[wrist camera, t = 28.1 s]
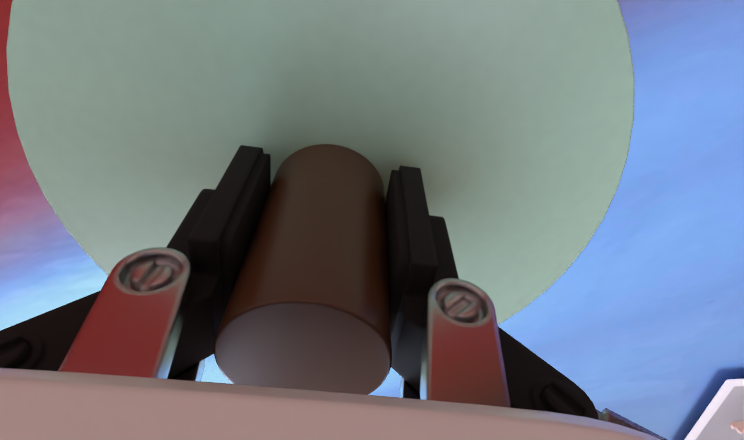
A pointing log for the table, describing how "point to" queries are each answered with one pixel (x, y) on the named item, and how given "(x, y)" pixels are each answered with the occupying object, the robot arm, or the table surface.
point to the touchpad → (722, 415)
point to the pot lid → (328, 148)
